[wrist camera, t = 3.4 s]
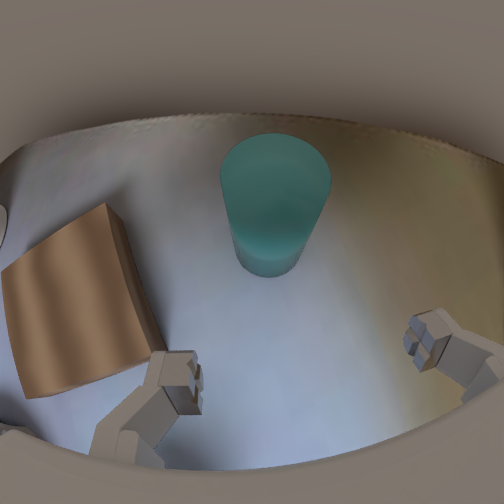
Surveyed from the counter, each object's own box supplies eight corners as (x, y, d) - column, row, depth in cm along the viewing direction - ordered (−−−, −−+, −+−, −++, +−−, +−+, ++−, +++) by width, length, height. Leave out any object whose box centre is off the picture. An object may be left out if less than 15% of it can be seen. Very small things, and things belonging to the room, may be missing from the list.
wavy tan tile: (122, 220, 26) (105, 202, 22) (168, 353, 21) (151, 354, 18) (22, 281, 23) (1, 271, 20) (50, 396, 19) (26, 399, 15)
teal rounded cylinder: (281, 205, 26) (295, 122, 15) (313, 259, 24) (352, 196, 14) (224, 231, 25) (204, 154, 15) (253, 289, 23) (250, 243, 13)
